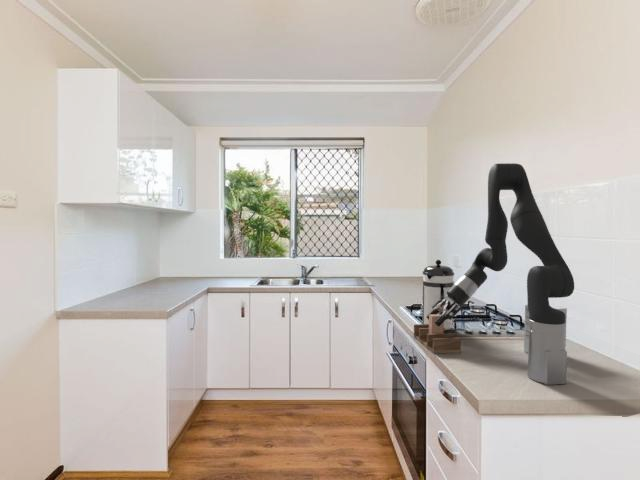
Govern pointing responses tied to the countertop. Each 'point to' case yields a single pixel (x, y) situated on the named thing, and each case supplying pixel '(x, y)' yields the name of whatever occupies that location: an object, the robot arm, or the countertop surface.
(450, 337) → the drying rack
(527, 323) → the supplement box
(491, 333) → the countertop surface
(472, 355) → the countertop surface
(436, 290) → the coffee press
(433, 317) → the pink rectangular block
